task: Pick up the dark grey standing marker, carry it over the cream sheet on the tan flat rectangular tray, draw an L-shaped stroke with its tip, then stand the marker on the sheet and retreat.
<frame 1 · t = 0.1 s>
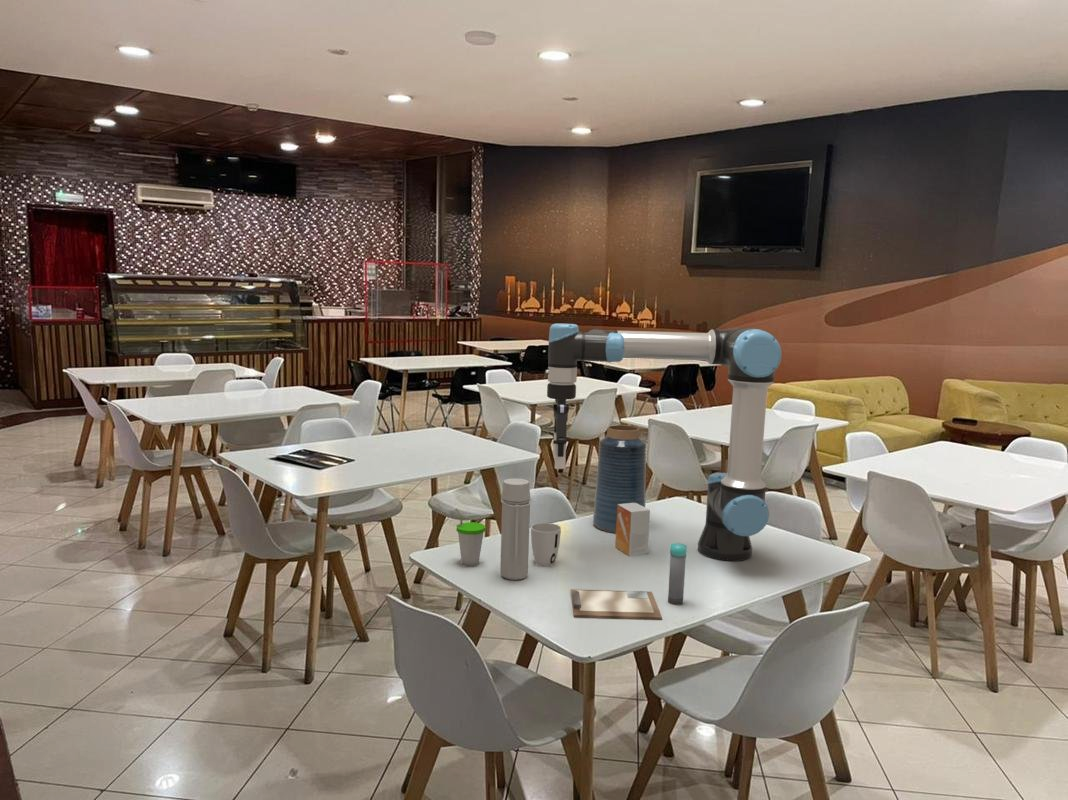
hand: (558, 462, 205), 28 cm above the table, fingers open, 13 cm apart
marker: (675, 601, 186), on the table
vase: (618, 526, 244), on the table
cup 2: (470, 564, 207), on the table
small box: (631, 551, 222), on the table
water bottle: (514, 578, 199), on the table
cup: (544, 563, 210), on the table
tan flat rectangular tray: (614, 605, 183), on the table
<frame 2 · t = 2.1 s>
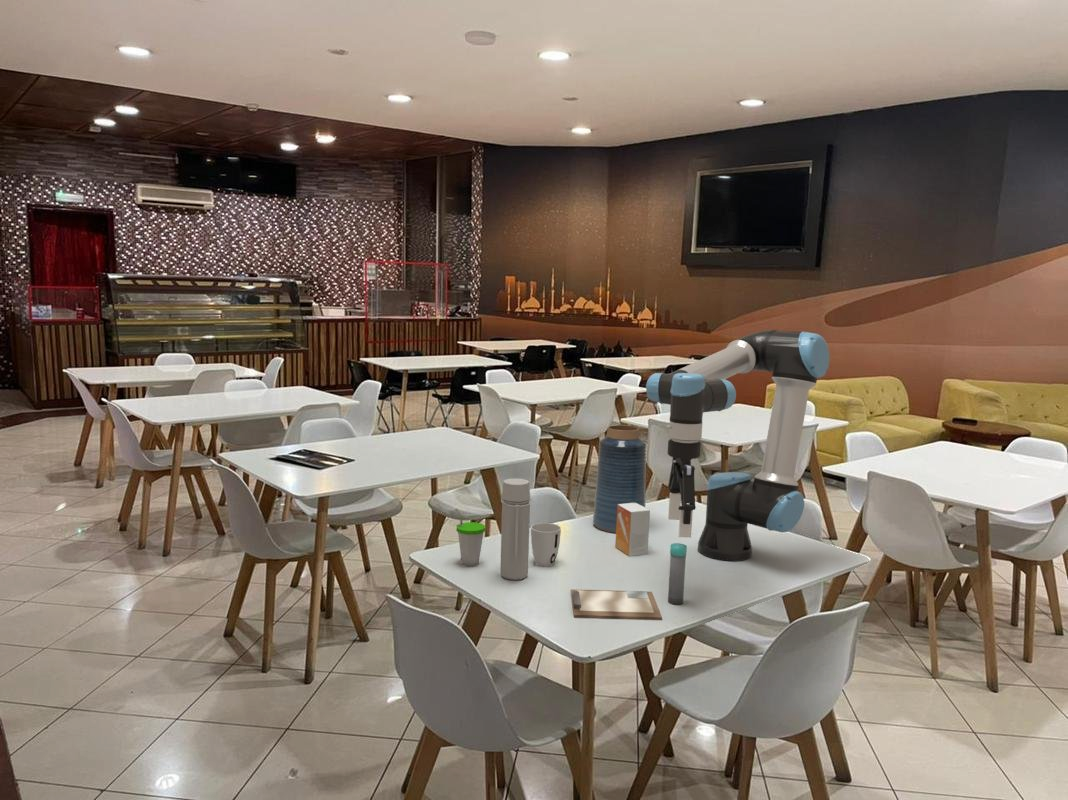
hand: (679, 527, 183), 18 cm above the table, fingers open, 13 cm apart
nothing on the table moved.
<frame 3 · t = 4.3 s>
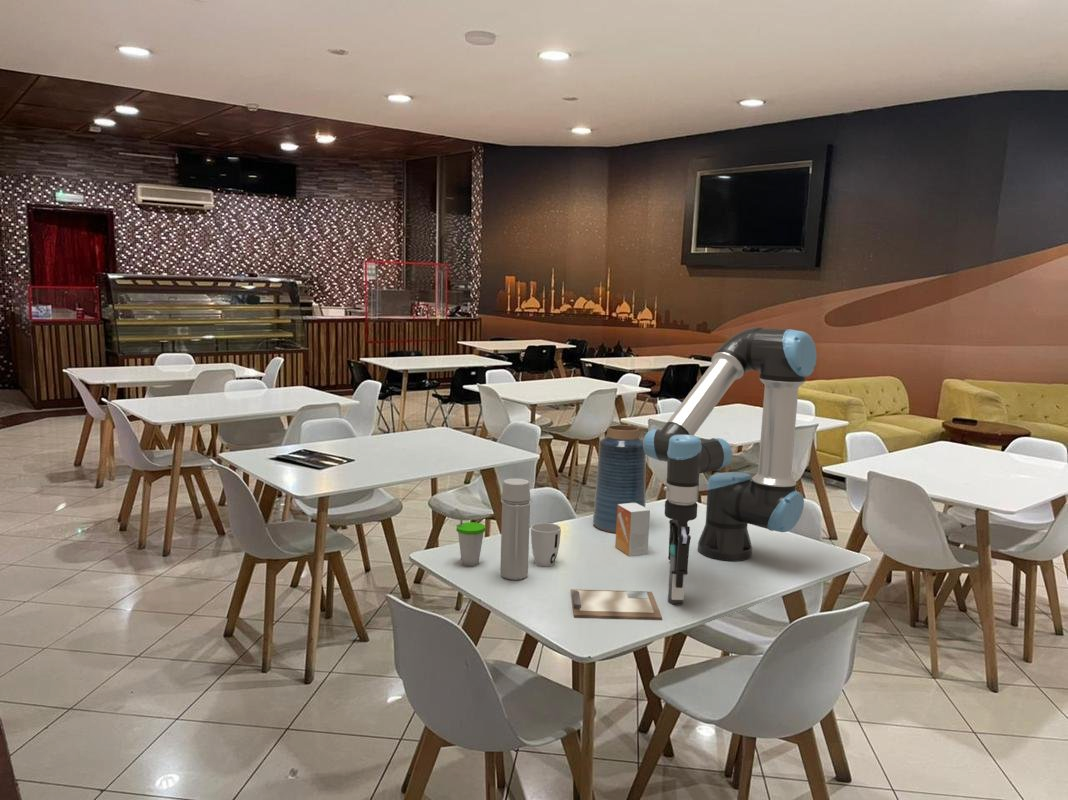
hand: (675, 595, 186), 2 cm above the table, fingers closed on marker, 3 cm apart
marker: (675, 601, 186), on the table, touching gripper
everything else where it was.
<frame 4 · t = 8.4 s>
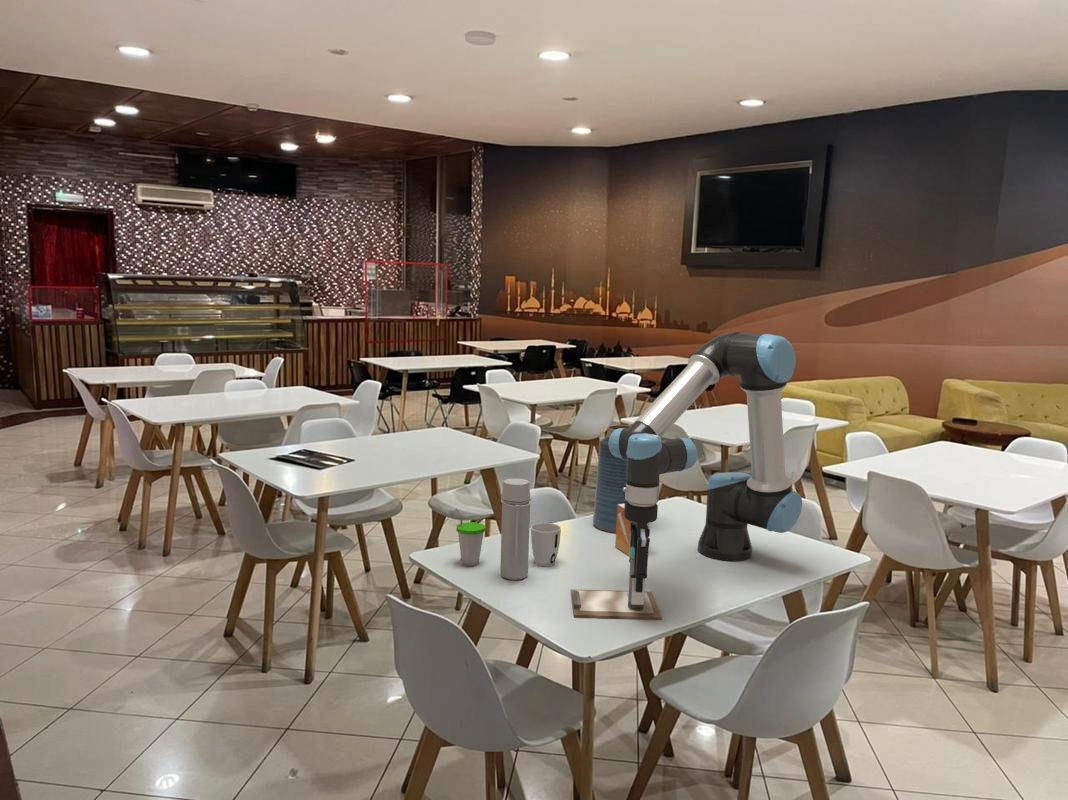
hand: (636, 600, 179), 3 cm above the table, fingers closed on marker, 3 cm apart
marker: (635, 606, 180), point 1 cm above the table, touching gripper
everything else where it was.
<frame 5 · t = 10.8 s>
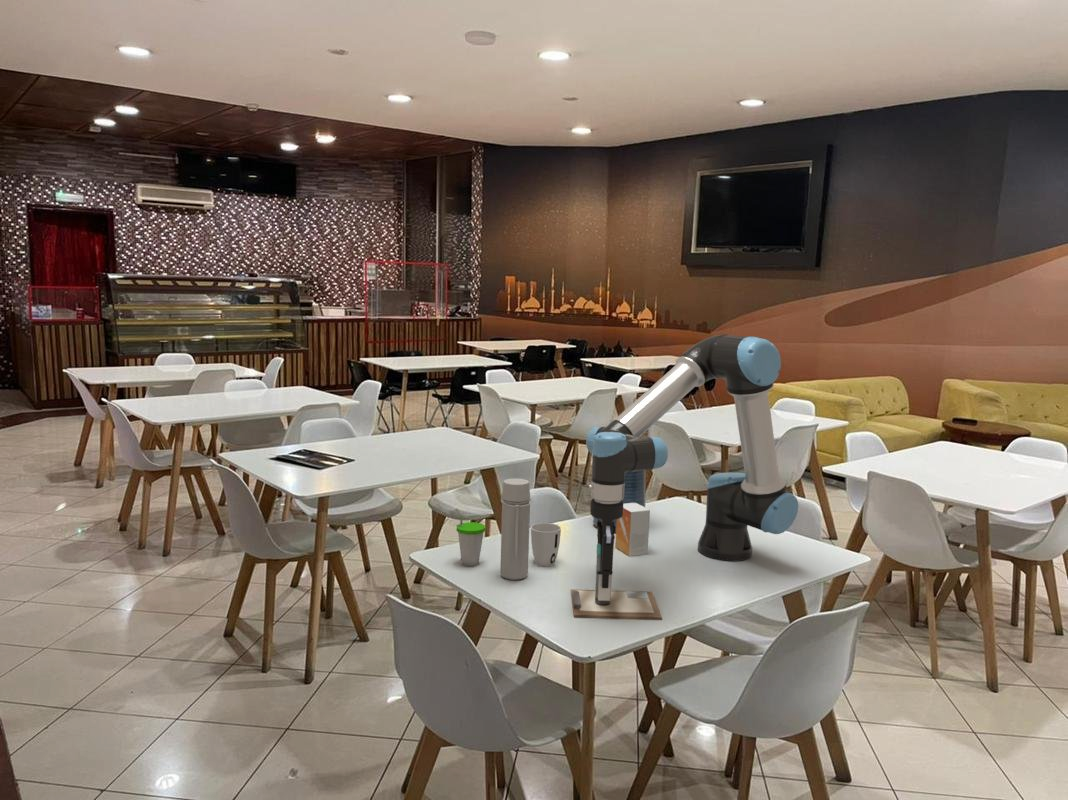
hand: (603, 596, 182), 2 cm above the table, fingers closed on marker, 3 cm apart
marker: (602, 602, 182), point 1 cm above the table, touching gripper
everything else where it was.
when the fingers open (3 cm above the table, at t = 12.6 s): marker stays where it is, resting on tan flat rectangular tray.
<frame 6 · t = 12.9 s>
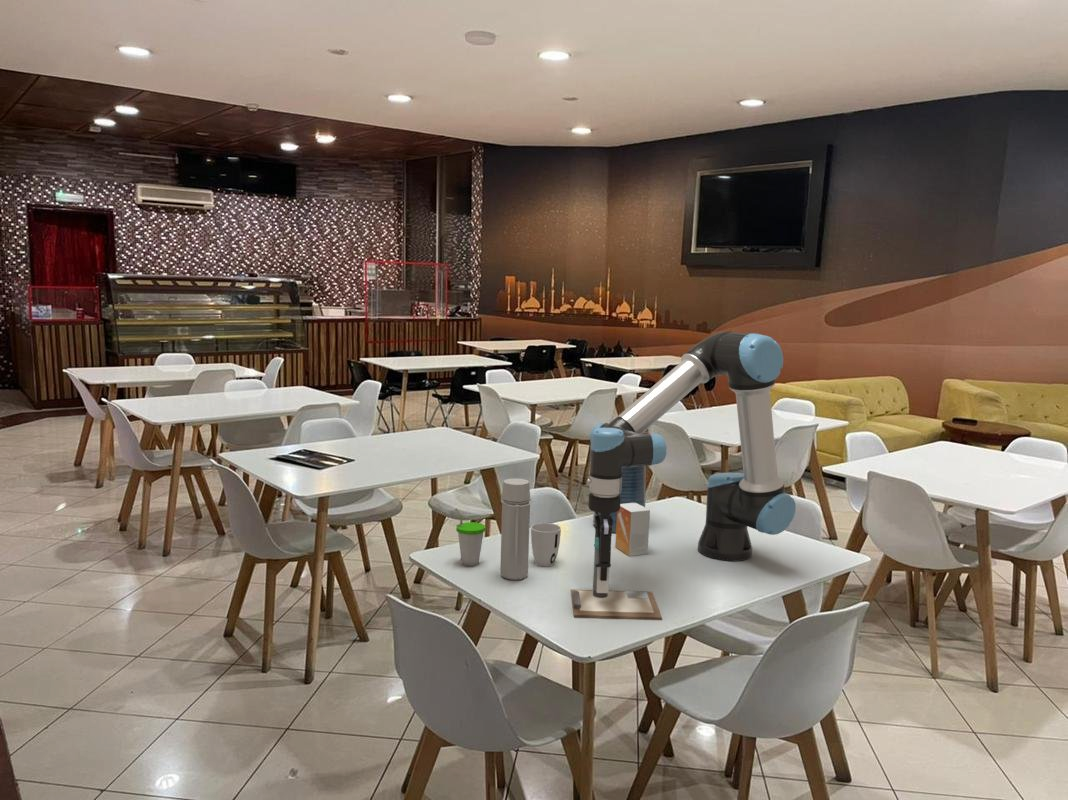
hand: (600, 585, 186), 3 cm above the table, fingers open, 7 cm apart
marker: (600, 594, 187), point 1 cm above the table, touching tan flat rectangular tray
everything else where it was.
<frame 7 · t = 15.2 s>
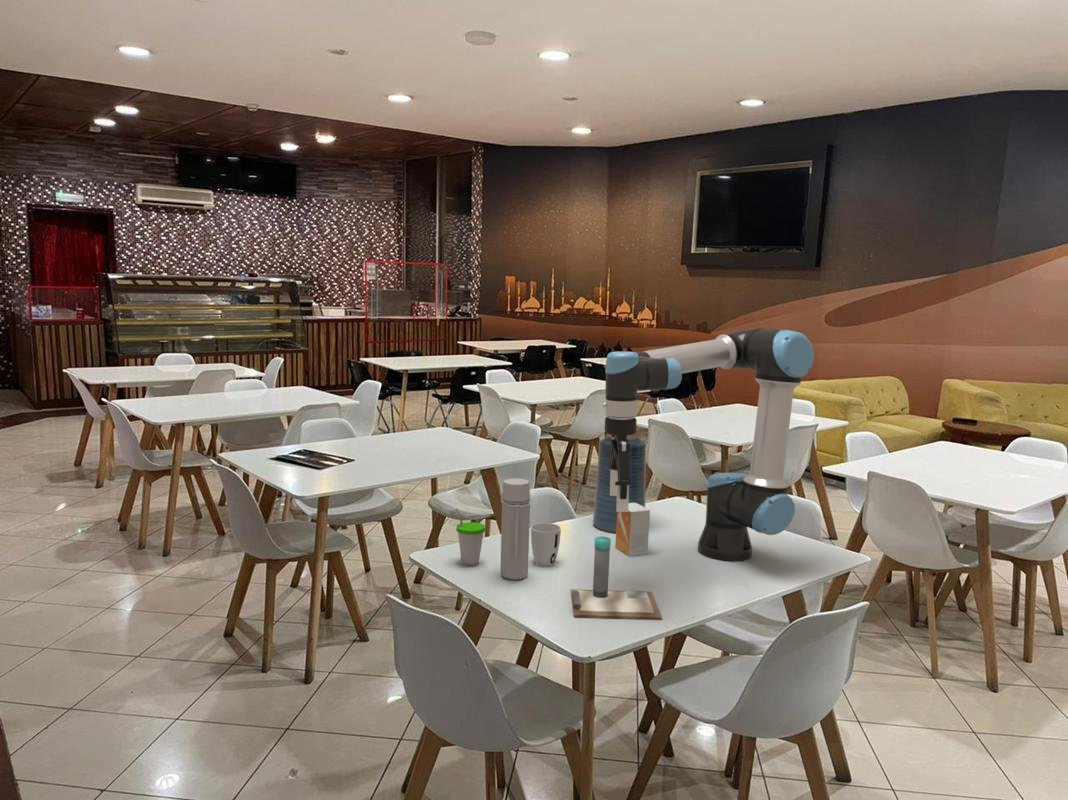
hand: (618, 503, 188), 23 cm above the table, fingers open, 13 cm apart
nothing on the table moved.
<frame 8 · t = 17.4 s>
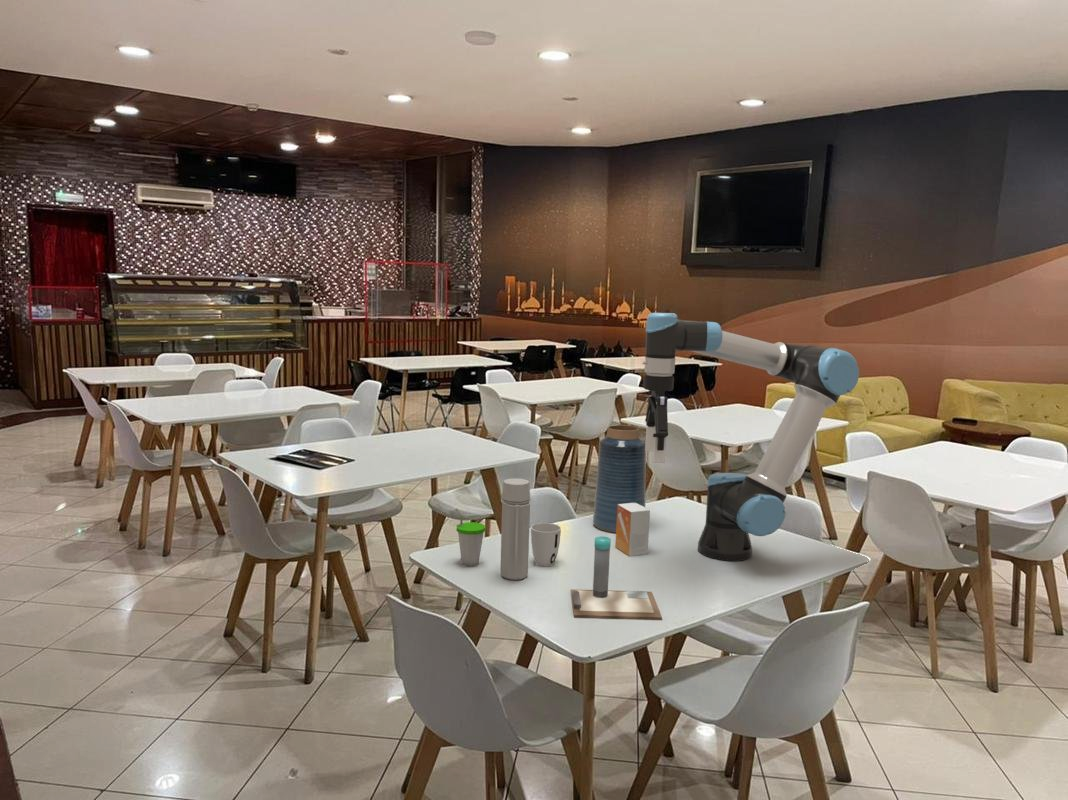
hand: (654, 456, 198), 32 cm above the table, fingers open, 13 cm apart
nothing on the table moved.
at the end: marker inside the target area on the tan flat rectangular tray (5.0 cm from its centre), point 0.8 cm above the tan flat rectangular tray's base; marker tilted 0°; the gripper is holding nothing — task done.
